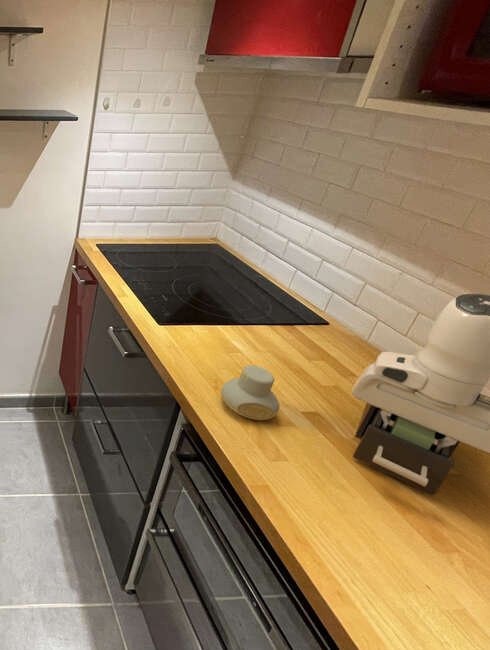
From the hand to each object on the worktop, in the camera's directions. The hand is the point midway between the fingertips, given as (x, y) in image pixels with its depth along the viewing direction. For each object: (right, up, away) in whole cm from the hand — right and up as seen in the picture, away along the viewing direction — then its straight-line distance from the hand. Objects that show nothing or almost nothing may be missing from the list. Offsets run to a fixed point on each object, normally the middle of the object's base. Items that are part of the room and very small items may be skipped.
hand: (408, 439), depth 84 cm
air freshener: (-20, 0, +17) cm, 26 cm away
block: (0, -1, +1) cm, 2 cm away
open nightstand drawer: (0, -6, +2) cm, 6 cm away
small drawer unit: (+8, -3, +10) cm, 13 cm away
